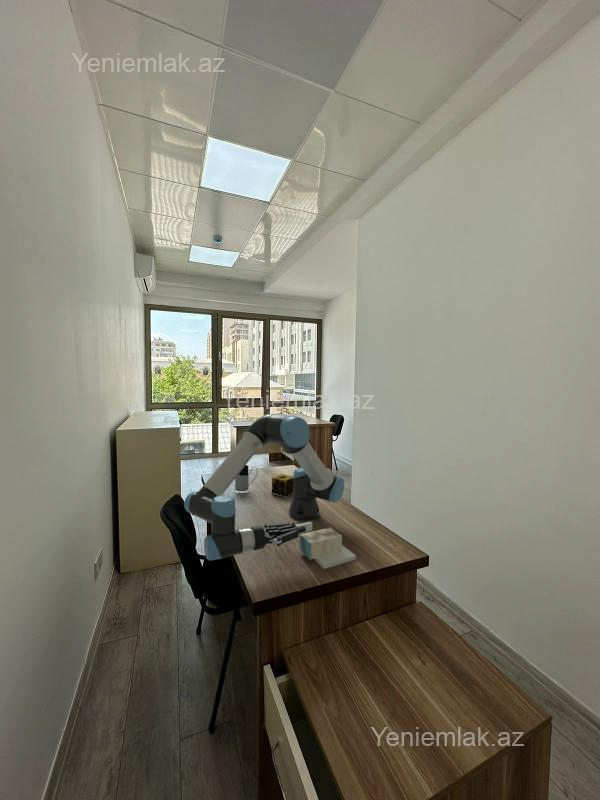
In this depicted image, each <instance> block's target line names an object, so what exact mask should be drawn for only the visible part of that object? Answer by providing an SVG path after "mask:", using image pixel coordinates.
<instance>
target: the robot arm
mask: <svg viewBox="0 0 600 800" xmlns="http://www.w3.org/2000/svg"><path fill="white" fill-rule="evenodd" d="M310 435H311V431H310V425H309V424H308V423H307V421H306V420H305V419H304V418H303V417H300V416H299V417H298V416H297V415H285V414H275V413H268V414H265V415H263V416H261V417H259V418H258V419H256V420H255V421H254V422H253V423H252V424H251V425H249V426H248V428H247V429H246V430H244V432H243V433H242V439H240V441H238V443H237V445H235V446H234V448H233V449H232V451H230V453H229V454H228V455H227V457H226V458H225V459H224V460H223V461H222V463H221V464H220V465H219V466H218V467H217V468H216V470H215V471H214V472H213V473H212V475H210V476H209V478H208V479H207V480H206V481H205V483H204V484H203V486H202V487H201V488H200V489H199V491H192V492H190V493H189V494H187V495H186V497H185V498H184V501H183V503H184V504H183V506H184V510H185V511H186V512H187V513H188V514H189V513H190V515H191V516H194V517H197V518H200V519H201V520H204V521H205V522H207V523H209V524H211V534H209V535H207V536H205V538H204V541H203V548H204V549H203V550H204V555H205V558H206V559H207V560H208V561H215V560H222V559H224V558H228V557H231V556H236V555H241V554H245V553H249V552H252V551H258V550H262V549H264V548H265V547H266V546H267V544H271V545H272V544H273V543H275V544H276V546H277V547H281V545H283V544H285V543H287V542H290V541H292V540H295V539H297V538H299V534H303V533H308V532H312V531H313V522H312V521H309V520H314V519H317V518H318V517H319V516H320V507H319V504H318V501H317V499H319V500H323V501H326V502H329V503H338V502H339V501H340V500H341V498H342V497H343V493H344V490H345V480H344V478H342V477H340V476H336V475H335V474H334V472H333V471H332V470H331V469H330V468H327V467H326V466H325V464H324V463H323V461H322V460H321V459H320V458H319V455H318V454H317V453H316V452H315V451H316V450H314V448H313V447H312V445H311V443H310V442H309V441H310V437H311V436H310ZM269 443H271V444H276V445H279V446H280V447H281V448H282V450H283V451H284V452H285V453H286V454H288V455H291V456H292V457H293V458H294V460H295V461H296V462H297V464H298V465H299V466H300V467H298V468H295V469H294V470H293V475H292V476H293V494H292V500H291V503H290V506H289V509H288V515H289V516H290V517H291V518H293V519H296V520H299V521H307V522H302V523H298V524H295V522H293V521H292V522H283V523H281V522H280V523H274V524H272V523H270V524H269V523H268V524H267V523H264V524H263V525H264V527H263V526H262V525H256V526H251V527H244V528H240V529H236V510H237V509H236V500H235V498H234V497H233V496H231V495H224V493H225V492H226V491H227V489H228V488H229V487H230V486H231V484H232V483H233V482H235V478H236V477H237V475H238V474H239V473H240V472H241V470H242V469H243V468H244V466H245V465H248V462H250V460H251V459H252V458H253V456H254V455H255V453H256V452H257V451H258V450H261V449H263V447H264V446H265V445H266V444H269Z"/></svg>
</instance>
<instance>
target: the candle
mask: <svg viewBox="0 0 600 800" xmlns="http://www.w3.org/2000/svg"><path fill="white" fill-rule="evenodd" d="M272 493H275V494H278V495H282V496H287V497H289V496H291V495H292V494H291V493H293V475H290V474H284V473H280V474H278V475H275V476H273V477H271V494H272ZM290 494H291V495H290ZM288 495H289V496H288ZM282 496H281V497H282Z"/></svg>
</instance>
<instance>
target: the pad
mask: <svg viewBox="0 0 600 800" xmlns="http://www.w3.org/2000/svg"><path fill="white" fill-rule="evenodd" d="M313 560H314V561H315V562H316V563H317V564H318V565H319V566H320V567H321V568H322V569H323V570H325V569H329V568H332V567H335V566H338V565H341V564H346V563H349V562H352V561H353V562H354V561H356V560H357V555H356V554H355V553H353V552H352V551H350V550H349V549H348V548H346V546H344V545H343V544H342V550H341V551H340V552H337V553H333V554H329V555H326V556H322V557H318V558H315V559H313Z"/></svg>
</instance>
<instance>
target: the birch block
mask: <svg viewBox="0 0 600 800" xmlns="http://www.w3.org/2000/svg"><path fill="white" fill-rule="evenodd" d="M342 540H343V535H341V534H340V533H339V532H337V531H336V530H334V529H333V528H332V527H327V528H322V529H318V530H312V531H307V532H303V533H299V548H298V549H299V551H300V552H301V553H302V554H303V555H304V556H305V557H306V558H307V559H308V560H309V561H312V560H314V559H315V558H318V557H322V556H326V555H329V554H333V553H337V552H340V551H341V550H342V545H343V541H342Z"/></svg>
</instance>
